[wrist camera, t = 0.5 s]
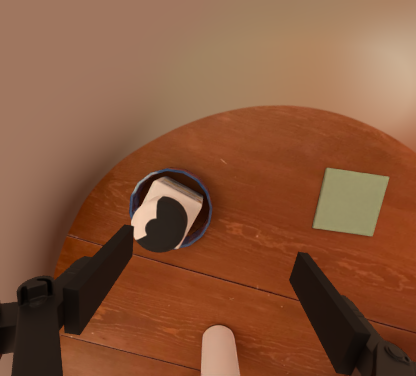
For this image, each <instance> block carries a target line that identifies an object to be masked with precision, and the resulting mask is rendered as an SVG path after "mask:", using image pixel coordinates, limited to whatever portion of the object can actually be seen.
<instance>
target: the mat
mask: <svg viewBox="0 0 416 376" xmlns="http://www.w3.org/2000/svg"><path fill="white" fill-rule="evenodd" d="M388 180H389V177H387V176H380V175H373V174H366V173H360V172H353V171H346V170H339V169H332V168H326V170H325V174H324V178H323V183H322V187H321V191H320V196H319V200H318V204H317V208H316V213H315V217H314V221H313V225H312V227H313V228H317V229H324V230H331V231H338V232H345V233H352V234H359V235H366V236H373V233H374V229H375V226H376V222H377V219H378V215H379V212H380V208H381V205H382V201H383V198H384V194H385V191H386V187H387V184H388Z"/></svg>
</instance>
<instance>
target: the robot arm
mask: <svg viewBox="0 0 416 376" xmlns="http://www.w3.org/2000/svg"><path fill="white" fill-rule="evenodd" d="M133 237H134V226H131V225H124V226H123V227H122V228H121V229H120V230H119V231H118V232H117V233H116V234H115V235H114V236H113V237H112V238H111V239H110V240H109V241H108V242H107V243H106V244H105V245H104V246H103V247H102V248H101V249H100V250H99V251H98V252H97V253H96V254H95V255H94V256H93V257H86V256H84V257H82V258H80V259H78V260H76V261H75V262H74V263H73V264H72V265H71V266H70V267H69V268H68V269H67V270H65V271H64V273H62V274H61V275H60V276H59V277H58V278H57V279H56V280H54V278H52V277H50V276H39V277H35V278H32V279H30V280H27V281H26V282H24V283H23V284H22V285H20V286H19V287H18V290H17V299H18V302H12V303H4V304H1V303H0V359H1V357H2V354H7V353H12V352H14V355H13V365H12V375H11V376H63V371H62V359H61V348H60V337H59V330H60V329H61V328H62V326H63V325H64V331H65V333H69V334H76V335H80V334H81V333H82V331H83V330H84V328H85V327H86V325H87V324H88V322H89V321H90V319H91V318H92V316H93V315H94V313H95V312H96V310H97V309H98V307H99V306H100V304H101V303H102V301H103V300H104V298H105V297H106V295H107V294H108V292H109V291H110V289H111V288H112V286H113V285H114V283H115V282H116V280H117V279H118V277H119V275H120V274H121V272H122V271H123V269H124V268H125V266H126V265H127V263H128V262H129V260H130V259H131V257H132V252H133ZM289 281H290V283H291V285H292V287H293V289H294V291H295V293H296V295H297V297H298V299H299V301H300V303H301V305H302V307H303V309H304V311H305V312H306V314H307V316H308V318H309V320H310V322H311V324H312V326H313V328H314V330H315V332H316V334H317V336H318V338H319V340H320V342H321V344H322V346H323V348H324V350H325V351H326V353H327V355H328V357H329V359H330V361H331V363H332V365H333V367H334V369H335V371H336V373H339V374H346V375H352V373H353V371H354V369H355V367H356V368H357V369H358V371H359V373H360V374H361V376H416V362H414V361H411V359H410V358H409V357H408V355H407V354H406V353H405V352H403V351H402V350H401V349H400V348H399V347H397V346H396V345H394V344H392V343H390V342H388V341H385V340H383V339H382V337H381V336H380V335H379V334H378V332H377V331H376V330H375V329H374V328H373V326H372V325H371V324H370V323H369V322H368V320H367V319H366V318H364V315H363V314H362V313H361V312H359V309H358V308H357V307H356V306H355V305H354V303H353V302H352V301H350V300H349V299H348V298H347V297H346V296H344V295H340V294H339V292H338V291H337V290H336V289H335V287H334V286H333V285H332V283H331V282H330V281H329V280H328V278H327V277H326V276H325V275H324V273H323V272H322V271H321V269H320V268H319V267H318V266H317V264H316V263H315V262H314V261H313V259H312V258H311V257H310V255H309V254H308V253H303V252H298V254H297V257H296V261H295V264H294V267H293V270H292V273H291V276H290V279H289Z"/></svg>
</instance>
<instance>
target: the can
mask: <svg viewBox="0 0 416 376" xmlns="http://www.w3.org/2000/svg"><path fill="white" fill-rule="evenodd" d="M201 376H240V373H239V366H238V359H237V352H236V345H235V338H234V335H233V333H232V331H231V330H230V329H229V328H227V327H225V326H222V325H214V326H212V327H210V328H208V329H207V330H206V331H205V332H204V334H203V338H202V361H201Z"/></svg>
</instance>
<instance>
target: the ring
mask: <svg viewBox="0 0 416 376" xmlns="http://www.w3.org/2000/svg"><path fill="white" fill-rule="evenodd" d="M165 171H171V172H178V173H183V174H185V175H187V176H189V177H190V178H192V179H194V180H195V181H197V182H198V184H199V185H200V186H201V188H202V189H203V190H204V192H205V193H206V195H207V199H208V203H209V212H208V217H207V219H206V220H205V222H204V224H203V225H202V227H201V228H200V229H199V230H197V231H196V232H195V233H193V234H192V235H190V236H187V237H185V238H184V240H183V242H182V244H181V246H180V247H179V248H182V247H187V246H190V245H191V244H193V243H194V242H195V241H197V240H198V239H200V238H201V237H202V236H203V234H204V233H205V231H206V229H207V228H208V226H209V225H210V221H211V214H212V201H211V197H210V193H209V189H208V188H207V187H206V185H205V184H204V183H203V181H202V180H201V179H200V177H198V176H197V175H195V174H193V173H191V172H190V171H188V170H186V169H180V168H173V167H170V168H167V169H163V170H159V171H155V172H151V173H150V174H149V175H147V176H146V177H145V178H143V179H142V180H141V181H139V182H138V184H137V186H136V187H135V189H134V191H133V193H132V195H131V197H130V208H129V213H130V217H131V220H132V218H133V215H134V214H135V212H136V211H137V209H138V208H139V202H140V193H141V191H142V189H143V188H144V186H145V184H146V182H147V181H148V180H150V179H151V178H152V177H153V176H155V175H156V174H158V173H162V172H165ZM174 249H175V248H174Z"/></svg>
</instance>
